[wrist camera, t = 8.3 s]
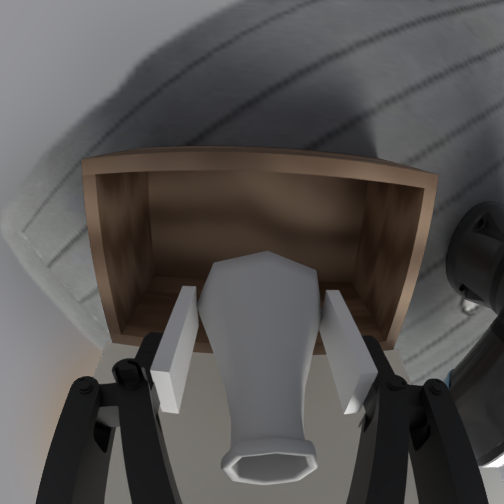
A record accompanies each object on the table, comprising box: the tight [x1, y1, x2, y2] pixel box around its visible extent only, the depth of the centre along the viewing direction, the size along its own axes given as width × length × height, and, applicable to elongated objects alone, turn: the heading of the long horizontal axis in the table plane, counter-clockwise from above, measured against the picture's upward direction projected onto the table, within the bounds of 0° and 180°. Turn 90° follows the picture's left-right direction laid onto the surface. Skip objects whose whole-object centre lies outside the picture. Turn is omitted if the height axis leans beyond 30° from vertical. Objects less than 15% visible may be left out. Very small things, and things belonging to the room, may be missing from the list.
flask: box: [197, 251, 322, 485], centre depth 12 cm, size 7×7×10 cm
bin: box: [81, 146, 438, 355], centre depth 26 cm, size 16×26×12 cm, turn 88°
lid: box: [93, 342, 419, 504], centre depth 17 cm, size 17×28×1 cm
